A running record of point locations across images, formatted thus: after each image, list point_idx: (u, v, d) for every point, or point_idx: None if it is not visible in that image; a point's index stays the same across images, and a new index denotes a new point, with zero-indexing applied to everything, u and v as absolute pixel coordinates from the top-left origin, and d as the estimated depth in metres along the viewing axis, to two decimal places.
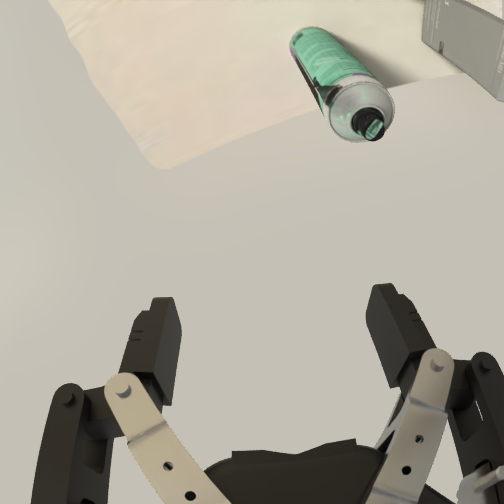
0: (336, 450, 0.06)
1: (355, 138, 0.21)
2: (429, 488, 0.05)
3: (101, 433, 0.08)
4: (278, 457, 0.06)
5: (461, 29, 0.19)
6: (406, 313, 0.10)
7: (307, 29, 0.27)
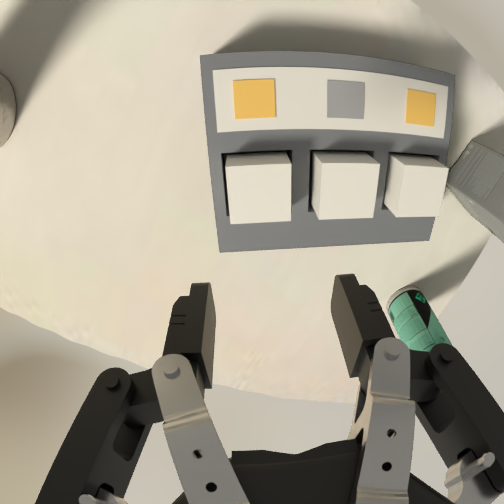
0: (336, 450, 0.06)
1: None
2: (429, 488, 0.05)
3: (144, 418, 0.08)
4: (278, 458, 0.06)
5: (497, 229, 0.22)
6: (364, 302, 0.10)
7: (393, 304, 0.36)
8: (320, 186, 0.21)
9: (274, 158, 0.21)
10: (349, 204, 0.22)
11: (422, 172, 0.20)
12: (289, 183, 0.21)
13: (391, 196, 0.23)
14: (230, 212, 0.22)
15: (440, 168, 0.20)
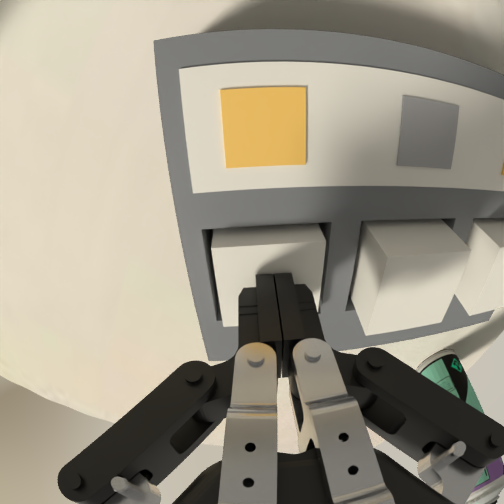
0: None
1: None
2: (429, 488, 0.05)
3: (222, 411, 0.08)
4: (278, 458, 0.06)
5: None
6: (295, 302, 0.11)
7: (424, 373, 0.27)
8: (377, 291, 0.12)
9: (295, 225, 0.13)
10: (415, 311, 0.12)
11: None
12: (319, 271, 0.12)
13: (464, 283, 0.14)
14: (222, 312, 0.14)
15: None
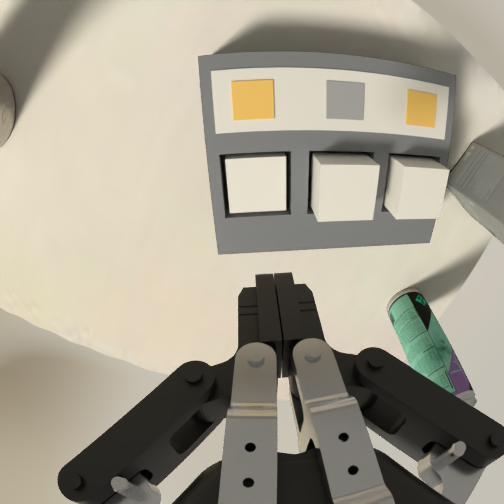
0: None
1: None
2: (429, 488, 0.05)
3: (222, 411, 0.08)
4: (279, 457, 0.06)
5: (498, 231, 0.22)
6: (295, 302, 0.11)
7: (393, 306, 0.36)
8: (319, 188, 0.21)
9: (270, 152, 0.23)
10: (348, 206, 0.21)
11: (422, 174, 0.20)
12: (284, 175, 0.22)
13: (391, 198, 0.23)
14: (229, 202, 0.23)
15: (441, 170, 0.20)
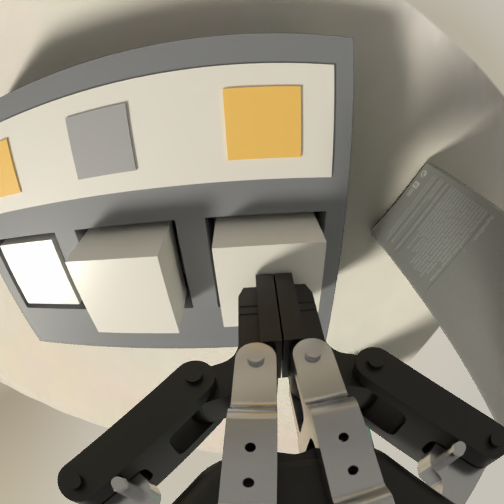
0: None
1: None
2: (429, 488, 0.05)
3: (222, 411, 0.08)
4: (279, 458, 0.06)
5: None
6: (295, 301, 0.11)
7: None
8: (80, 292, 0.12)
9: None
10: (130, 315, 0.13)
11: (259, 256, 0.12)
12: (59, 262, 0.14)
13: None
14: (23, 291, 0.15)
15: (304, 244, 0.12)
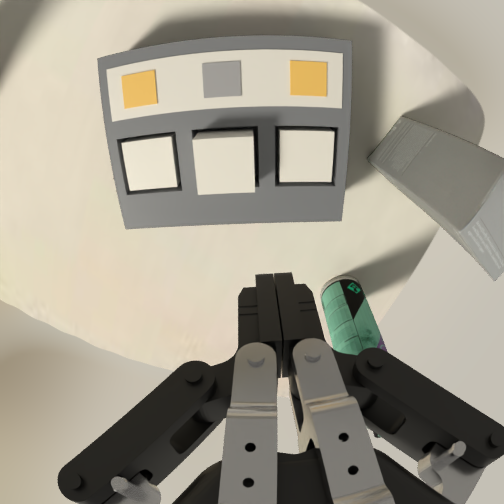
0: None
1: None
2: (429, 488, 0.05)
3: (221, 412, 0.08)
4: (279, 457, 0.06)
5: (423, 207, 0.23)
6: (295, 302, 0.11)
7: (324, 294, 0.37)
8: (194, 162, 0.22)
9: (163, 134, 0.24)
10: (226, 178, 0.23)
11: (302, 136, 0.23)
12: (171, 153, 0.23)
13: (278, 164, 0.26)
14: (128, 180, 0.24)
15: (323, 132, 0.23)
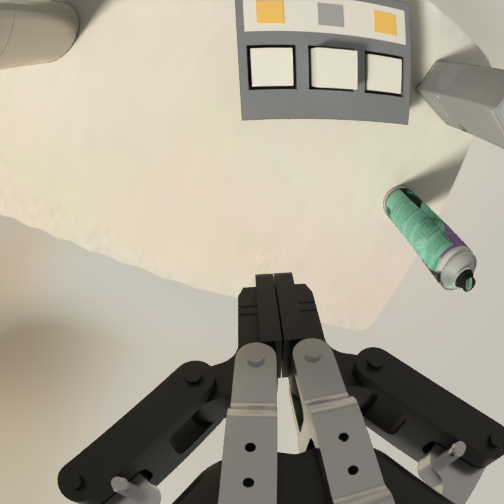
0: None
1: None
2: (429, 488, 0.05)
3: (221, 412, 0.08)
4: (279, 458, 0.06)
5: (463, 114, 0.27)
6: (295, 302, 0.11)
7: (388, 200, 0.41)
8: (316, 63, 0.26)
9: None
10: (338, 77, 0.27)
11: (382, 60, 0.27)
12: (291, 60, 0.27)
13: None
14: (252, 78, 0.28)
15: (395, 58, 0.27)
